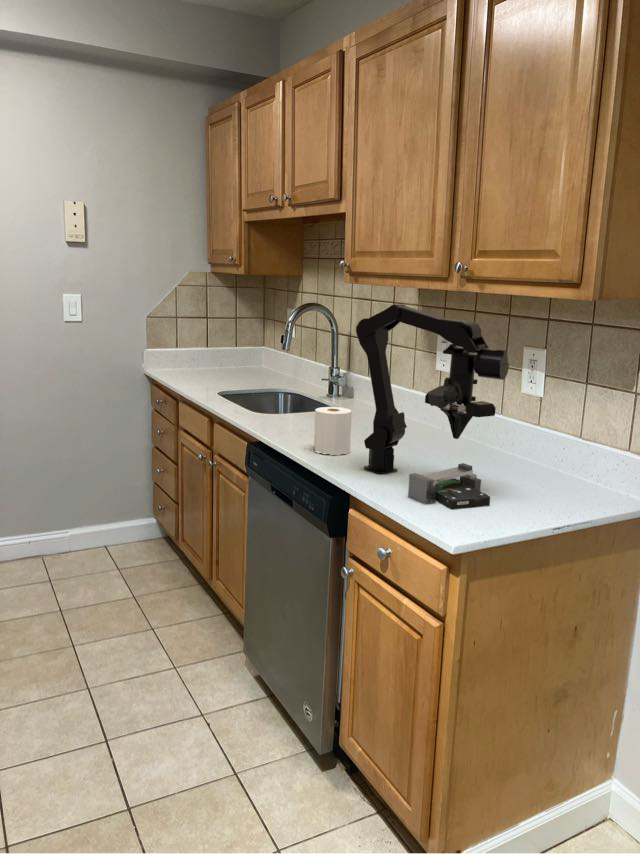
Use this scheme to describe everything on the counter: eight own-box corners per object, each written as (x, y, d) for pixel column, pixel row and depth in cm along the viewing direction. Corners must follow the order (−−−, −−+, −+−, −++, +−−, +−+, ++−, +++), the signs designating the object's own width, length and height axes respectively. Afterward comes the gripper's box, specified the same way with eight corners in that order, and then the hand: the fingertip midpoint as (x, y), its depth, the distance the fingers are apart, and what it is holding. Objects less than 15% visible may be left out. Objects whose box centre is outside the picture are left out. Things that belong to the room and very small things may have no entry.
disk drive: (490, 508, 159) (454, 488, 173) (491, 496, 159) (455, 477, 172) (451, 512, 155) (417, 491, 169) (452, 500, 155) (418, 480, 168)
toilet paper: (355, 454, 200) (357, 412, 197) (321, 456, 196) (322, 414, 194) (341, 446, 209) (343, 405, 206) (308, 448, 205) (310, 407, 203)
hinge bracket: (407, 496, 163) (408, 473, 162) (416, 494, 165) (418, 472, 164) (426, 504, 158) (428, 481, 157) (436, 502, 160) (438, 479, 159)
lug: (458, 488, 171) (460, 472, 171) (464, 486, 173) (466, 471, 172) (474, 493, 167) (475, 477, 167) (480, 492, 169) (481, 476, 168)
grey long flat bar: (419, 479, 163) (419, 473, 162) (461, 468, 170) (461, 462, 170) (431, 484, 160) (431, 477, 159) (473, 473, 167) (473, 466, 166)
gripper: (410, 370, 171) (405, 432, 175) (464, 382, 156) (457, 450, 159) (445, 368, 177) (439, 429, 181) (500, 380, 162) (493, 446, 165)
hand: (455, 438), depth 171 cm, fingers closed
